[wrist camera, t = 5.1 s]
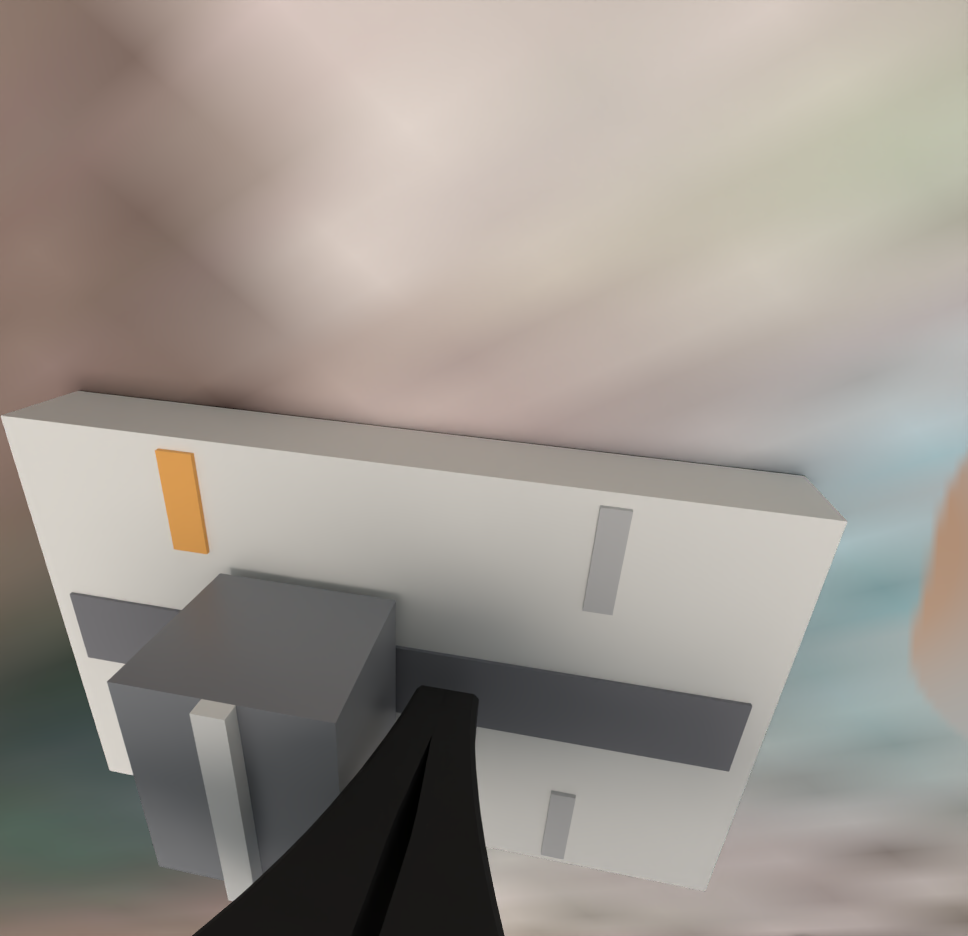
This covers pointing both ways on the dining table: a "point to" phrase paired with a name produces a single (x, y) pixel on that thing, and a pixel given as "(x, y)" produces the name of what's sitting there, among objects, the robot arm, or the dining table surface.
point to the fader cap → (253, 719)
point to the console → (465, 595)
